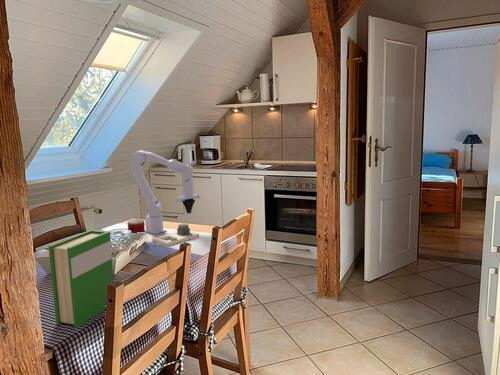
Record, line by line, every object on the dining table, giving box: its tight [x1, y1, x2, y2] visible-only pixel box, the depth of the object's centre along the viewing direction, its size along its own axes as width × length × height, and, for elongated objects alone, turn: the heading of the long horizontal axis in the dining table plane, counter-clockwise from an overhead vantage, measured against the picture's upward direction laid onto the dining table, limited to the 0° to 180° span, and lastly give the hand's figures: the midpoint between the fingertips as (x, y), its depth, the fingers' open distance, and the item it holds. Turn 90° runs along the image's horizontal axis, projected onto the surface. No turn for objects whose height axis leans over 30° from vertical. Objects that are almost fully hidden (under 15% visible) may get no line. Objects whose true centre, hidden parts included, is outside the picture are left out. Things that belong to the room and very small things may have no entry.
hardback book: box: [48, 229, 114, 329], centre depth 124 cm, size 18×7×24 cm, turn 162°
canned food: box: [127, 218, 146, 233], centre depth 197 cm, size 8×8×11 cm
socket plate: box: [151, 230, 200, 247], centre depth 203 cm, size 12×20×2 cm, turn 139°
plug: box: [176, 223, 191, 236], centre depth 206 cm, size 4×4×6 cm
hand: (188, 213), depth 216 cm, fingers closed
